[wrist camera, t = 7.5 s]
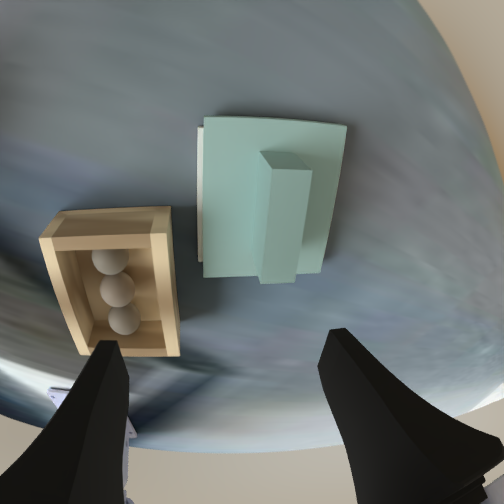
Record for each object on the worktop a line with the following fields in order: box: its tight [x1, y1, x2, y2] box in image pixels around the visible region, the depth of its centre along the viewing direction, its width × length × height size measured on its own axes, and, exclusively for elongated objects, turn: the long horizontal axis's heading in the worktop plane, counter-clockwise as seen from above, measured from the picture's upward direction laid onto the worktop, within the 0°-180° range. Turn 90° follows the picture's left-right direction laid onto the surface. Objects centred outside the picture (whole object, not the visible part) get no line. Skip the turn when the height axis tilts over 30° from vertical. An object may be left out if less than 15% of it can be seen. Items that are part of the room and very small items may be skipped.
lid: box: [202, 116, 347, 284], centre depth 16 cm, size 9×7×4 cm
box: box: [39, 206, 180, 356], centre depth 18 cm, size 9×7×3 cm
